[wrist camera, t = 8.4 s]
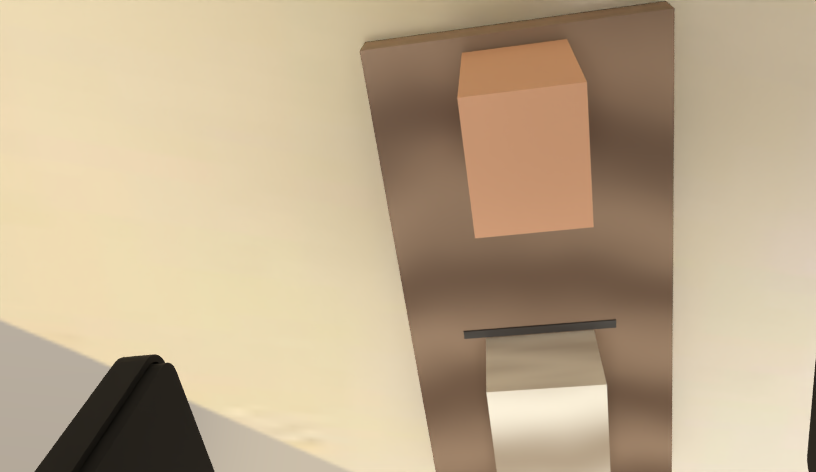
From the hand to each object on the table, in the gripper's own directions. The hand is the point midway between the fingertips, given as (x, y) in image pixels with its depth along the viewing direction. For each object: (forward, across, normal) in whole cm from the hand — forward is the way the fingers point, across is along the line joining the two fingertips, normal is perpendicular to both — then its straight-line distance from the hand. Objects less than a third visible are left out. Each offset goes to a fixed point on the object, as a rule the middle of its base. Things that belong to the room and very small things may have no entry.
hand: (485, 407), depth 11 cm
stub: (+20, -1, +2) cm, 20 cm away
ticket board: (+22, -1, +11) cm, 25 cm away
